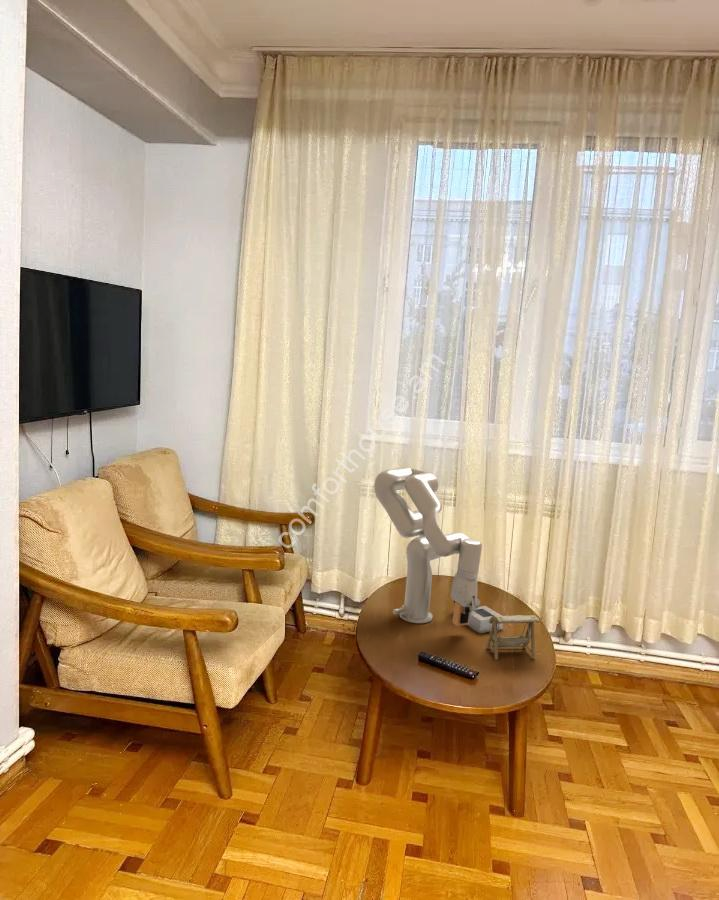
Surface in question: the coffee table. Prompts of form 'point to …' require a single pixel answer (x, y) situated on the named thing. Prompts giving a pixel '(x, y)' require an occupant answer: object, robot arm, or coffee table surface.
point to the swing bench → (512, 640)
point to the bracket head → (482, 618)
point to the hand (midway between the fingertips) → (460, 620)
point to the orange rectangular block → (458, 615)
